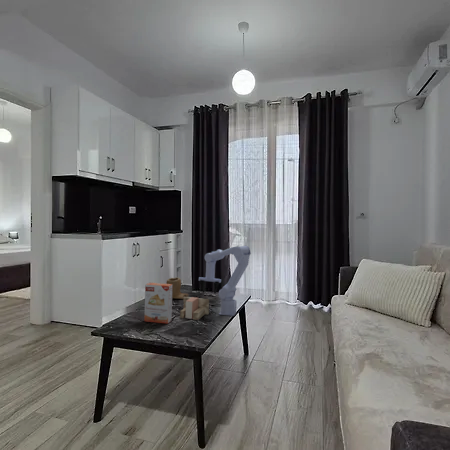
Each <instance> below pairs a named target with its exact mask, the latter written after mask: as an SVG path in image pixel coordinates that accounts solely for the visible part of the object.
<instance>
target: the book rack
mask: <svg viewBox="0 0 450 450" xmlns="http://www.w3.org/2000/svg"><path fill="white" fill-rule="evenodd" d="M190 298H192V297H190V296H188V297H184V299H183V309H180V311H179V313H180V314H179V318H180V319H186V301H187V300H188V299H190ZM197 298H198V309H197V310H196V311H195V312H193V320H195V321H197V320H198V321H199V320H200V319H201V318H202V317H203V316H205V315H206V316H207V315H209V312H210V298H202V297H200V298H199V297H197Z"/></svg>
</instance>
